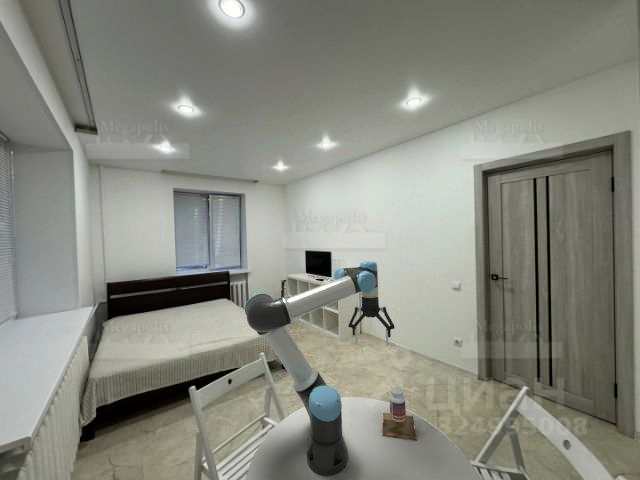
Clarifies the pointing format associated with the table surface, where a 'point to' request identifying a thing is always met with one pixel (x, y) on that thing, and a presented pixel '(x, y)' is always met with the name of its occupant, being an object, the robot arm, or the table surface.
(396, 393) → the pill bottle
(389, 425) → the brown wooden block
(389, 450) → the table surface
